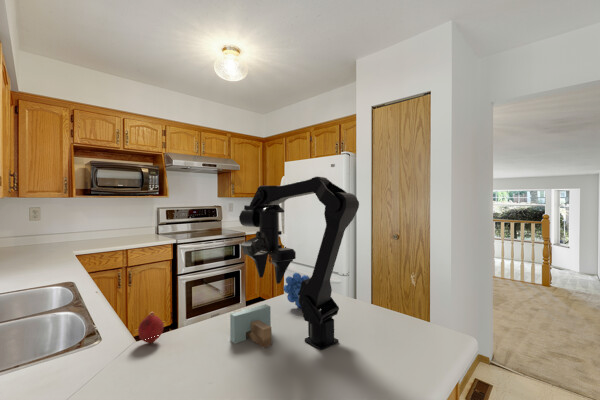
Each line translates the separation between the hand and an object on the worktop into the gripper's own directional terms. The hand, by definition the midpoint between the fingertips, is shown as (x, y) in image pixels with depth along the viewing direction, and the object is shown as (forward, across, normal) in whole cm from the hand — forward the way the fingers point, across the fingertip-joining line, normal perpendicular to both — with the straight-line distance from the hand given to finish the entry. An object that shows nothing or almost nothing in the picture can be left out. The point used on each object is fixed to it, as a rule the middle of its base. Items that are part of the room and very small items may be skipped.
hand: (269, 280), depth 87 cm
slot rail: (+13, +3, -8) cm, 16 cm away
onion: (+13, -10, -30) cm, 34 cm away
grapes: (+13, -4, +15) cm, 20 cm away
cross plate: (+13, +3, -8) cm, 16 cm away
